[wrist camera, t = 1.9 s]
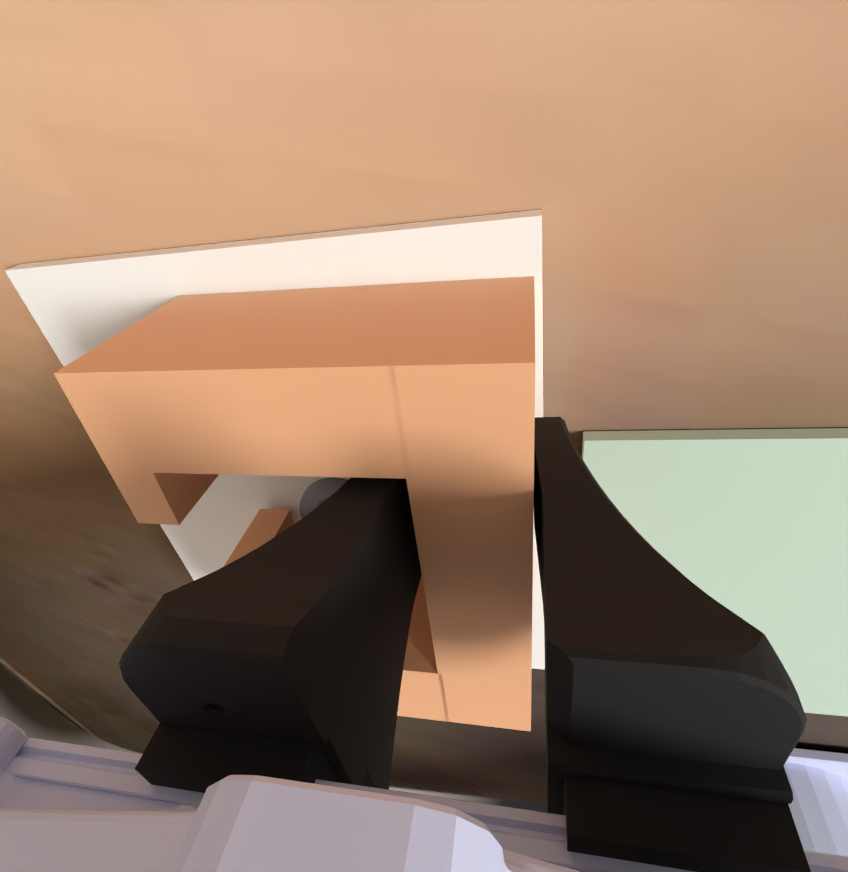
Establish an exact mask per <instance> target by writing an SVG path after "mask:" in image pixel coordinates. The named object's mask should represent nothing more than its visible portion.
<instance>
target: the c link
mask: <svg viewBox="0 0 848 872" xmlns="http://www.w3.org/2000/svg"><path fill="white" fill-rule="evenodd" d="M54 375H55V377H56V379H57V381H58V382H59V384H60V386H61V388H62V389H63V391H64V393H65V395H66V396H67V398H68V400H69V402H70V404H71V405H72V407H73V409H74V411H75V412H76V414H77V416H78V418H79V419H80V421H81V423H82V425H83V426H84V428H85V430H86V432H87V434H88V435H89V437H90V439H91V441H92V442H93V444H94V446H95V448H96V449H97V451H98V453H99V455H100V457H101V458H102V460H103V462H104V464H105V465H106V467H107V469H108V471H109V472H110V474H111V476H112V478H113V479H114V481H115V483H116V485H117V487H118V488H119V490H120V492H121V494H122V495H123V497H124V499H125V501H126V502H127V504H128V506H129V508H130V510H131V511H132V513H133V515H134V517H135V518H136V520H137V522H138V523H146V524H168V525H180V524H181V522H182V521H183V520H184V519H185V517H186V516H187V515H188V513H189V512H190V511H191V510H192V508H193V507H194V506H195V505H196V503H197V502H198V501H199V499H200V498H201V497H202V496H203V494H204V493H205V492H206V491H207V489H208V488H209V487H210V486H211V484H212V483H213V482H214V480H215V479H216V478H217V477H218V475H219V474H226V475H269V476H312V477H354V478H397V479H406V482H407V488H408V494H409V500H410V506H411V512H412V518H413V524H414V531H415V537H416V543H417V549H418V555H419V561H420V567H421V573H422V575H421V579H420V583H419V586H418V590H417V594H416V597H415V602H414V606H413V611H412V616H411V622H410V628H409V634H408V641H407V647H406V653H405V660H404V667H403V674H402V681H401V688H400V696H399V704H398V712H397V716H405V717H414V718H422V719H431V720H439V721H447V722H456V723H464V724H473V725H481V726H489V727H498V728H506V729H515V730H523V731H531V674H532V593H533V512H534V431H535V294H534V276H527V277H509V278H491V279H472V280H454V281H436V282H418V283H400V284H382V285H364V286H346V287H328V288H309V289H291V290H273V291H255V292H237V293H219V294H201V295H183V296H178V297H176V298H175V299H173V300H171V301H170V302H168V303H167V304H165V305H163V306H162V307H160V308H159V309H157V310H155V311H154V312H152V313H150V314H149V315H147V316H146V317H144V318H142V319H141V320H139V321H137V322H136V323H134V324H133V325H131V326H129V327H128V328H126V329H124V330H123V331H121V332H120V333H118V334H116V335H115V336H113V337H112V338H110V339H108V340H107V341H105V342H103V343H102V344H100V345H99V346H97V347H95V348H94V349H92V350H90V351H89V352H87V353H86V354H84V355H82V356H81V357H79V358H77V359H76V360H74V361H73V362H71V363H69V364H68V365H66V366H65V367H63V368H61V369H60V370H58V371H56V372H55V373H54ZM292 525H294V521H293V518H292V515H291V512H290V510H283V509H260V510H259V511H258V513H257V514H256V516H255V517H254V519H253V521H252V522H251V524H250V525H249V527H248V529H247V530H246V532H245V533H244V535H243V537H242V538H241V540H240V541H239V543H238V544H237V546H236V548H235V549H234V551H233V552H232V554H231V556H230V557H229V559H228V560H227V562H226V563H225V565H224V566H226V565H228V564H230V563H231V562H233V561H235V560H237V559H239V558H241V557H243V556H244V555H246V554H248V553H250V552H251V551H253V550H255V549H256V548H258V547H260V546H262V545H263V544H265V543H266V542H268V541H269V540H271V539H273V538H274V537H276V536H277V535H279V534H280V533H282V532H283V531H285V530H286V529H288V528H289V527H291V526H292Z"/></svg>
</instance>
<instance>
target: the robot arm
mask: <svg viewBox="0 0 848 872" xmlns="http://www.w3.org/2000/svg"><path fill="white" fill-rule="evenodd" d="M534 528H535V537H536V546H537V555H538V564H539V573H540V582H541V592H542V601H543V613H544V640H545V710H546V782H547V813H545V812H538V811H531V810H524V809H518V808H510V807H504V806H496V805H490V804H483V803H476V802H469V801H462V800H456V799H448V798H442V797H435V796H428V795H421V794H414V793H407V792H400V791H393V790H389V781H390V772H391V763H392V753H393V744H394V736H395V728H396V720H397V712H398V704H399V696H400V688H401V681H402V674H403V667H404V660H405V653H406V647H407V641H408V634H409V628H410V622H411V616H412V611H413V606H414V602H415V597H416V594H417V590H418V586H419V583H420V579H421V575H422V573H421V567H420V561H419V555H418V549H417V543H416V537H415V531H414V524H413V518H412V512H411V506H410V500H409V494H408V488H407V482H406V479H397V478H354V477H351V478H350V479H349V480H348V481H347V482H346V483H345V484H343V485H342V486H341V487H340V488H339V489H338V490H337V491H336V492H335V493H334V494H333V495H331V496H330V497H329V498H328V499H327V500H325V501H324V502H323V503H322V504H321V505H319V506H318V507H317V508H315V509H314V510H313V511H312V512H310V513H309V514H308V515H306V516H305V517H304V518H302V519H301V520H300V521H298V522H297V523H295V524H294V525H292V526H291V527H289V528H288V529H286V530H285V531H283V532H282V533H280V534H279V535H277V536H276V537H274V538H273V539H271V540H269V541H268V542H266V543H265V544H263V545H262V546H260V547H258V548H256V549H255V550H253V551H251V552H250V553H248V554H246V555H244V556H243V557H241V558H239V559H237V560H235V561H233V562H231V563H230V564H228V565H226V566H224V567H222V568H220V569H218V570H216V571H214V572H212V573H210V574H208V575H206V576H203V577H201V578H199V579H197V580H195V581H193V582H190V583H188V584H186V585H184V586H182V587H180V588H177V589H175V590H173V591H171V592H168V593H166V594H164V595H163V596H162V598H161V599H160V601H159V602H158V603H157V605H156V606H155V608H154V609H153V611H152V612H151V614H150V615H149V616H148V618H147V619H146V621H145V622H144V624H143V625H142V627H141V628H140V630H139V631H138V633H137V634H136V635H135V637H134V638H133V640H132V641H131V643H130V644H129V646H128V647H127V649H126V650H125V651H124V653H123V654H122V657H121V660H120V663H119V665H120V669H121V673H122V677H123V679H124V681H125V682H126V683H127V685H128V686H129V688H130V689H131V690H132V691H133V692H134V694H135V695H136V696H137V697H138V698H139V699H140V700H141V702H142V703H143V704H144V705H145V706H146V707H147V708H148V709H149V711H150V712H151V713H152V714H153V715H154V716H155V717H156V718H157V720H158V721H159V722H160V724H159V726H158V728H157V730H156V731H155V733H154V735H153V737H152V739H151V740H150V742H149V744H148V746H147V747H146V749H145V751H144V753H143V754H139V753H132V752H125V751H118V750H112V749H105V748H97V747H91V746H84V745H77V744H70V743H64V742H57V741H50V740H43V739H36V738H29V737H27V736H26V733H25V732H24V731H23V730H22V729H21V728H20V727H18V726H17V725H16V724H15V723H13V722H12V721H10V720H8V719H6V718H4V717H1V716H0V872H848V754H847V753H838V752H828V751H819V750H810V749H800V748H794V747H795V746H796V744H797V742H798V741H799V739H800V737H801V736H802V734H803V732H804V728H805V724H806V721H807V719H806V716H805V713H804V710H803V707H802V704H801V701H800V699H799V696H798V693H797V691H796V689H795V687H794V685H793V682H792V680H791V679H790V677H789V675H788V673H787V671H786V670H785V668H784V666H783V664H782V662H781V661H780V659H779V657H778V655H777V654H776V652H775V650H774V649H773V647H772V645H771V644H770V642H769V640H768V639H767V637H766V636H765V634H764V633H762V632H761V631H759V630H758V629H757V628H755V627H754V626H752V625H751V624H749V623H748V622H746V621H745V620H743V619H742V618H741V617H739V616H738V615H736V614H735V613H733V612H732V611H730V610H729V609H727V608H726V607H725V606H723V605H722V604H720V603H719V602H717V601H716V600H714V599H713V598H712V597H710V596H709V595H708V594H706V593H705V592H704V591H703V590H701V589H700V588H699V587H698V586H696V585H695V584H694V583H692V582H691V581H690V580H689V579H688V578H686V577H685V576H684V575H683V574H682V573H681V572H680V571H679V570H677V569H676V568H675V567H674V566H673V565H672V564H671V563H670V562H669V561H667V560H666V559H665V558H664V557H663V556H662V555H661V554H660V553H658V552H657V551H656V550H655V549H654V548H653V547H652V546H651V545H650V544H649V543H648V542H647V541H646V540H645V539H644V538H643V537H642V536H641V535H640V534H639V533H638V532H637V531H636V529H635V528H634V527H633V526H632V525H631V524H630V523H629V522H628V521H627V519H626V518H625V517H624V516H623V515H622V514H621V512H620V511H619V510H618V509H617V508H616V506H615V505H614V504H613V503H612V501H611V500H610V499H609V497H608V496H607V495H606V493H605V492H604V491H603V489H602V488H601V487H600V485H599V484H598V482H597V481H596V479H595V478H594V477H593V475H592V473H591V472H590V470H589V469H588V467H587V466H586V464H585V462H584V461H583V459H582V457H581V456H580V454H579V452H578V450H577V448H576V447H575V445H574V443H573V441H572V439H571V437H570V434H569V432H568V429H567V427H566V424H565V421H564V420H563V419H562V418H561V417H535V431H534Z"/></svg>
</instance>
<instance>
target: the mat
mask: <svg viewBox="0 0 848 872" xmlns="http://www.w3.org/2000/svg"><path fill="white" fill-rule="evenodd" d="M582 459H583V461H584V462H585V464H586V466H587V467H588V469H589V470H590V472H591V473H592V475H593V477H594V478H595V479H596V481H597V482H598V484H599V485H600V487H601V488H602V489H603V491H604V492H605V493H606V495H607V496H608V497H609V499H610V500H611V501H612V503H613V504H614V505H615V506H616V508H617V509H618V510H619V511H620V512H621V514H622V515H623V516H624V517H625V518H626V519H627V521H628V522H629V523H630V524H631V525H632V526H633V527H634V528H635V529H636V531H637V532H638V533H639V534H640V535H641V536H642V537H643V538H644V539H645V540H646V541H647V542H648V543H649V544H650V545H651V546H652V547H653V548H654V549H655V550H656V551H657V552H658V553H660V554H661V555H662V556H663V557H664V558H665V559H666V560H667V561H669V562H670V563H671V564H672V565H673V566H674V567H675V568H676V569H677V570H679V571H680V572H681V573H682V574H683V575H684V576H685V577H686V578H688V579H689V580H690V581H691V582H692V583H694V584H695V585H696V586H698V587H699V588H700V589H701V590H703V591H704V592H705V593H706V594H708V595H709V596H710V597H712V598H713V599H714V600H716V601H717V602H719V603H720V604H722V605H723V606H725V607H726V608H727V609H729V610H730V611H732V612H733V613H735V614H736V615H738V616H739V617H741V618H742V619H743V620H745V621H746V622H748V623H749V624H751V625H752V626H754V627H755V628H757V629H758V630H759V631H761V632H762V633H764V634H765V636H766V637H767V639H768V640H769V642H770V644H771V645H772V647H773V649H774V650H775V652H776V654H777V655H778V657H779V659H780V661H781V662H782V664H783V666H784V668H785V670H786V671H787V673H788V675H789V677H790V679H791V680H792V682H793V685H794V687H795V689H796V691H797V693H798V696H799V699H800V701H801V704H802V707H803V710H804V712H806V713H817V714H828V715H838V716H848V428H812V429H733V430H654V431H583V442H582Z"/></svg>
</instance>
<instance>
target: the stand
mask: <svg viewBox="0 0 848 872" xmlns="http://www.w3.org/2000/svg"><path fill="white" fill-rule="evenodd" d="M5 272H6V273H7V275H8V277H9V278H10V280H11V282H12V283H13V285H14V287H15V288H16V290H17V291H18V293H19V295H20V296H21V298H22V300H23V301H24V303H25V305H26V306H27V308H28V309H29V311H30V313H31V314H32V316H33V318H34V319H35V321H36V323H37V324H38V326H39V327H40V329H41V331H42V332H43V334H44V336H45V337H46V339H47V341H48V342H49V344H50V345H51V347H52V349H53V350H54V352H55V354H56V355H57V357H58V359H59V360H60V362H61V363H62V365H63V367H65V366H66V365H68V364H69V363H71V362H73V361H74V360H76V359H77V358H79V357H81V356H82V355H84V354H86V353H87V352H89V351H90V350H92V349H94V348H95V347H97V346H99V345H100V344H102V343H103V342H105V341H107V340H108V339H110V338H112V337H113V336H115V335H116V334H118V333H120V332H121V331H123V330H124V329H126V328H128V327H129V326H131V325H133V324H134V323H136V322H137V321H139V320H141V319H142V318H144V317H146V316H147V315H149V314H150V313H152V312H154V311H155V310H157V309H159V308H160V307H162V306H163V305H165V304H167V303H168V302H170V301H171V300H173V299H175V298H176V297H178V296H183V295H201V294H219V293H237V292H255V291H273V290H291V289H309V288H328V287H346V286H364V285H382V284H400V283H418V282H436V281H454V280H472V279H491V278H509V277H527V276H534V294H535V417H543V306H542V209H539V210H529V211H520V212H510V213H501V214H491V215H482V216H472V217H463V218H453V219H444V220H434V221H425V222H415V223H406V224H396V225H387V226H377V227H368V228H358V229H349V230H339V231H330V232H320V233H311V234H301V235H292V236H282V237H273V238H263V239H254V240H244V241H235V242H225V243H216V244H206V245H197V246H187V247H178V248H168V249H159V250H149V251H140V252H130V253H120V254H111V255H101V256H92V257H82V258H73V259H63V260H54V261H44V262H35V263H25V264H19V265H17V266H15V267H12V268H10V269H7V270H5ZM350 478H351V477H312V476H269V475H226V474H219V475H218V477H217V478H216V479H215V480H214V482H213V483H212V484H211V486H210V487H209V488H208V489H207V491H206V492H205V493H204V494H203V496H202V497H201V498H200V499H199V501H198V502H197V503H196V505H195V506H194V507H193V508H192V510H191V511H190V512H189V513H188V515H187V516H186V517H185V519H184V520H183V521H182V522H181V524H180V525H168V524H160V526H161V527H162V529H163V531H164V532H165V534H166V535H167V537H168V539H169V540H170V542H171V544H172V545H173V547H174V549H175V550H176V552H177V553H178V555H179V557H180V558H181V560H182V562H183V563H184V565H185V567H186V568H187V570H188V571H189V573H190V575H191V576H192V578H193V580H194V581H195V580H197V579H199V578H201V577H203V576H206V575H208V574H210V573H212V572H214V571H216V570H218V569H220V568H222V567H224V565H225V563H226V562H227V560H228V559H229V557H230V556H231V554H232V552H233V551H234V549H235V548H236V546H237V544H238V543H239V541H240V540H241V538H242V537H243V535H244V533H245V532H246V530H247V529H248V527H249V525H250V524H251V522H252V521H253V519H254V517H255V516H256V514H257V513H258V511H259V510H260V509H283V510H290V512H291V515H292V518H293V521H294V524H295V523H297V522H298V521H300V520H301V519H302V518H304V517H305V516H306V515H308V514H309V513H310V512H312V511H313V510H314V509H315V508H317V507H318V506H319V505H321V504H322V503H323V502H324V501H325V500H327V499H328V498H329V497H330V496H331V495H333V494H334V493H335V492H336V491H337V490H338V489H339V488H340V487H341V486H342V485H343V484H345V483H346V482H347V481H348V480H349V479H350ZM532 668H534V669H545V640H544V613H543V601H542V592H541V582H540V573H539V564H538V555H537V546H536V537H535V528H534V512H533V593H532Z"/></svg>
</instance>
